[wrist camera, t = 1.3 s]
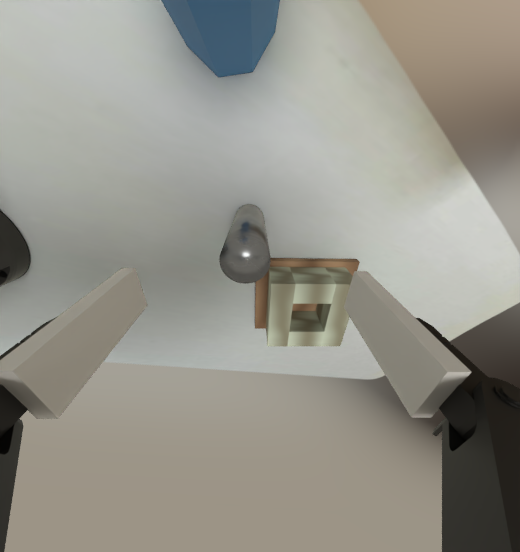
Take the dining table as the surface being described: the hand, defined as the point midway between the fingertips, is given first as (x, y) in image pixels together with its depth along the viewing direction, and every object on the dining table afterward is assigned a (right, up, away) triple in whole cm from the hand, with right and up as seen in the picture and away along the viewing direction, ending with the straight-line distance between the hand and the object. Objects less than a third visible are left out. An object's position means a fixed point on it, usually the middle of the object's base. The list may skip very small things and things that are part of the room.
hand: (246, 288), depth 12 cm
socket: (+8, -3, +22) cm, 24 cm away
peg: (-1, +9, +15) cm, 18 cm away
